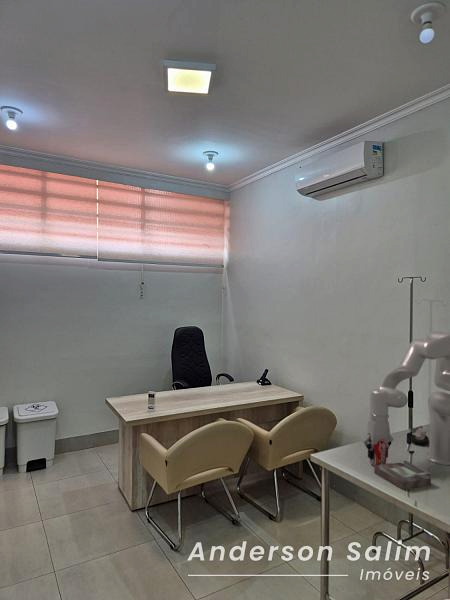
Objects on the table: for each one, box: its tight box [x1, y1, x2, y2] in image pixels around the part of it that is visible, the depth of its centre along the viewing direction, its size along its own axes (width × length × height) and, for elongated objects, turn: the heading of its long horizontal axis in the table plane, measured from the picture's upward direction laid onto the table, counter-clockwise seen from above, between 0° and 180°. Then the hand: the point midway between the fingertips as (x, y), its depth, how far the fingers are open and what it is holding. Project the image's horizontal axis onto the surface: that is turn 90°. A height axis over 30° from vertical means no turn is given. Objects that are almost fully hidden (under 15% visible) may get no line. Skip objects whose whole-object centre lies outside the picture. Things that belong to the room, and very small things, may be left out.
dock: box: [373, 460, 432, 491], centre depth 161 cm, size 14×16×5 cm
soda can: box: [368, 440, 387, 466], centre depth 176 cm, size 7×7×12 cm
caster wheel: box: [410, 425, 430, 447], centre depth 207 cm, size 7×11×10 cm
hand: (377, 457), depth 176 cm, fingers closed on soda can, 7 cm apart
